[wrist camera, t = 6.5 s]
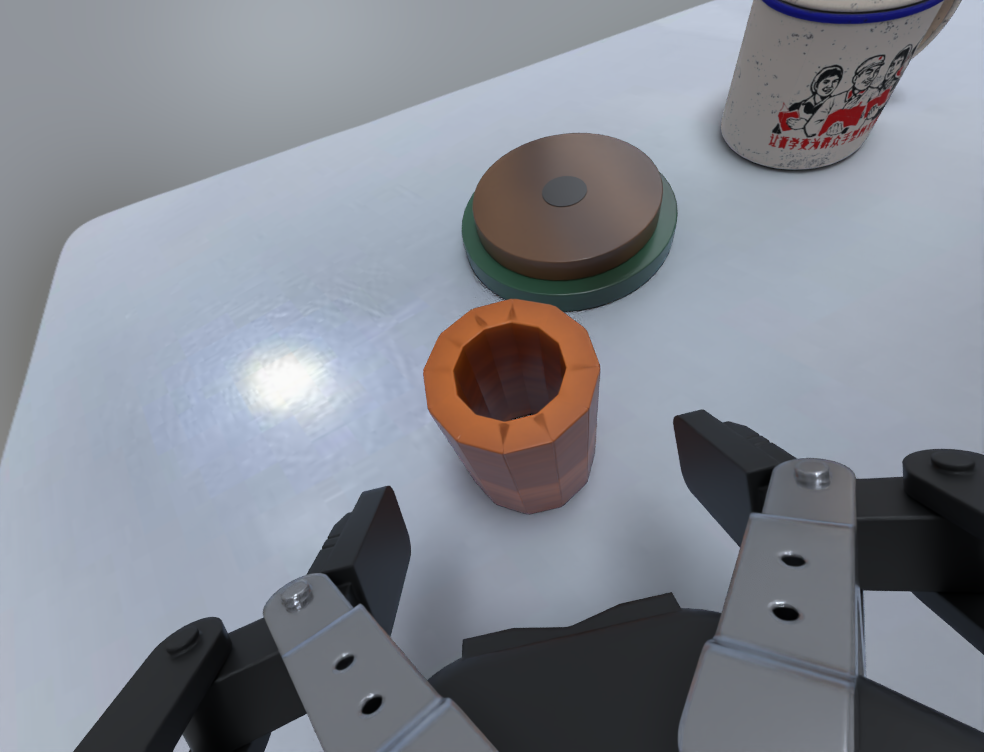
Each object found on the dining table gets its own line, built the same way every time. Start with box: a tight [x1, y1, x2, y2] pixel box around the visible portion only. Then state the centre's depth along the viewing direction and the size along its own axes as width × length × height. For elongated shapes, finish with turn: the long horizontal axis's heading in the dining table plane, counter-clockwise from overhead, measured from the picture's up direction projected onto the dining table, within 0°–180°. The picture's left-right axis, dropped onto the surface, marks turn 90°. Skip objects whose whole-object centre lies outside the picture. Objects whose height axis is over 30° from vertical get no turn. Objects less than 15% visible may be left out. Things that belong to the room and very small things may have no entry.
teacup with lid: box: [721, 0, 962, 170], centre depth 26 cm, size 12×9×12 cm
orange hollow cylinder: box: [423, 299, 600, 514], centre depth 19 cm, size 6×6×8 cm
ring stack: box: [462, 133, 678, 311], centre depth 29 cm, size 13×13×3 cm
